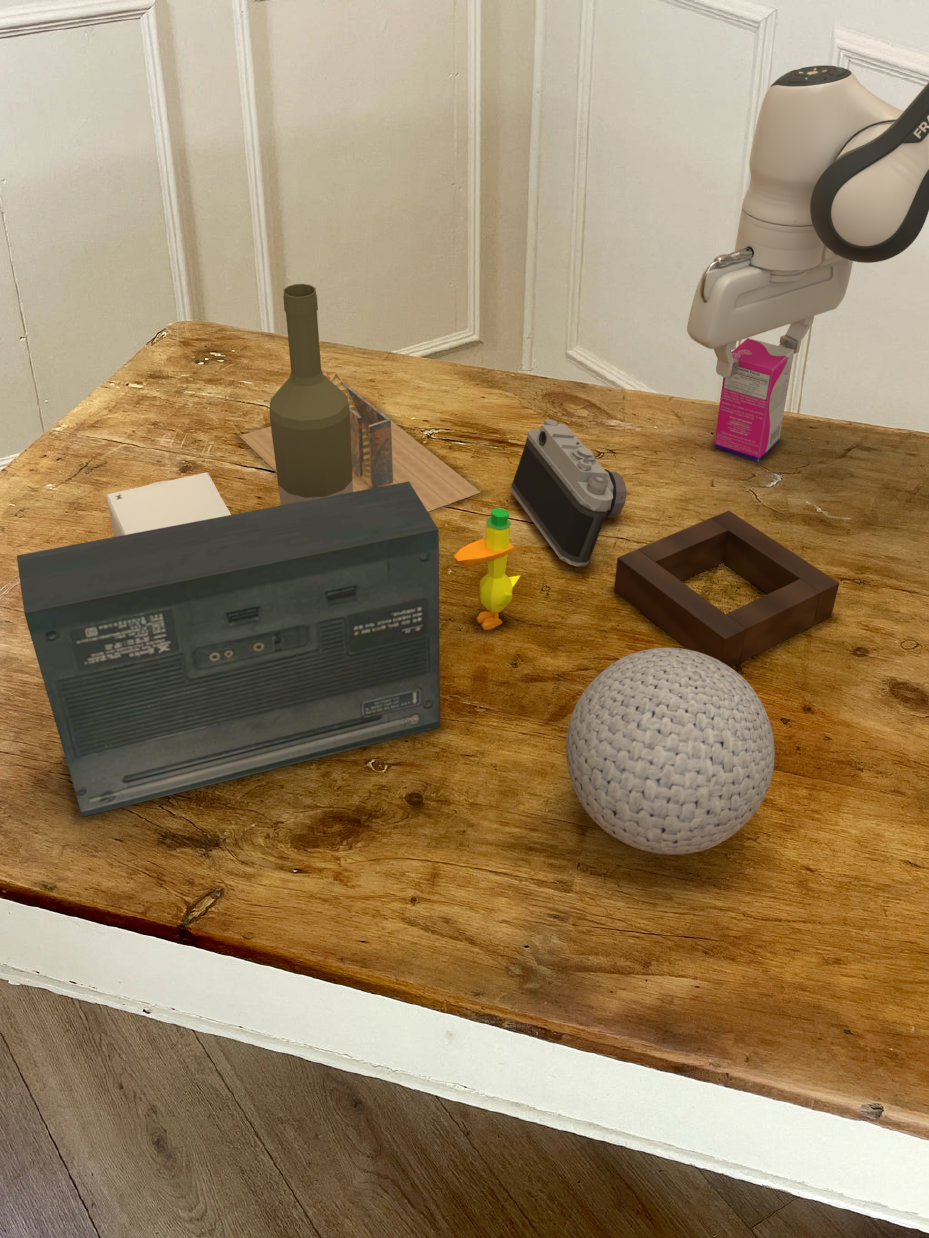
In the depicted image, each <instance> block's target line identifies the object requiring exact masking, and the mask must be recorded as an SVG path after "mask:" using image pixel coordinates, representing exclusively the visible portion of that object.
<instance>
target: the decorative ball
mask: <svg viewBox="0 0 929 1238" xmlns="http://www.w3.org/2000/svg"><path fill="white" fill-rule="evenodd" d="M775 749H776V748H775V737H774V733H773V729H772V724H771V722H770V718H769V716H768V714H767V711H766V709H765V707H764V705H763V703H762V701H761V698H760V697H759V696H758V693H756V691H755V689H754V688H753V687H752V685H751V684H750V683H749V682H748V681H747V680H746V679H745V678H744V677H743V676H742V675H741V674H739V672H737V671H736V670H735V669H733V668H732V667H729V666H727V665H726V664H724V663H722V662H721V661H719V660H717V659H715V658H713V657H711V656H708V655H705V654H703V653H699V652H696V651H692V650H688V649H687V648H681V647H680V648H678V647H655V648H649V649H645V650H640V651H636V652H633V653H631V654H628V655H626V656H623V657H621V658H619V659H617V660H616V661H615V662H613V663H612V664H610V665H609V666H607V667H606V668H605V669H604V670H602V671H601V672H600V673H598V675H597V676H596V677H595V678H594V679H593V680H592V681H591V682H590V683H589V684H588V685H587V687H586V688H585V689H584V691H583V692H582V694H581V695H580V697H579V699H578V701H577V702H576V704H575V706H574V708H573V711H572V714H571V716H570V719H569V722H568V726H567V732H566V738H565V757H566V765H567V766H566V767H567V770H568V775H569V779H570V783H571V785H572V788H573V790H574V793H575V794H576V797H577V798H578V801H579V803H580V804H581V806H582V808H583V809H584V810H585V812H586V813H587V815H588V816H589V817H590V818H591V819H592V820H593V822H595V823H596V824H597V825H598V826H599V827H600V828H601V829H602V830H603V831H605V832H606V833H607V834H609V835H610V836H611V837H613V838H615V839H616V840H618V841H620V842H622V843H624V844H625V845H628V846H629V847H632V848H634V849H638V850H640V851H644V852H647V853H651V854H657V855H669V856H670V855H671V856H672V855H673V856H675V855H677V856H678V855H688V854H693V853H694V854H695V853H699V852H702V851H703V852H704V851H706V850H708V849H712V848H714V847H716V846H718V845H720V844H722V843H723V842H725V841H726V840H728V839H729V838H731V837H732V836H733V835H735V834H736V833H737V832H739V831H740V830H741V829H742V828H744V826H745V825H746V824H747V823H748V822H749V821H750V820H751V819H752V818H753V816H754V815H755V814H756V813H757V811H758V810H759V809H760V807H761V805H762V803H763V801H764V800H765V797H766V795H767V793H768V791H769V788H770V784H771V783H772V779H773V775H774V768H775V760H776V758H775V757H776V756H775V755H776V750H775Z"/></svg>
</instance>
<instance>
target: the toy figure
mask: <svg viewBox="0 0 929 1238" xmlns="http://www.w3.org/2000/svg"><path fill="white" fill-rule="evenodd" d="M509 516H510V513H509V510H507V509H505V508H499V507H495V508H493V509H491V511H490V516H489V517H487V518H486V524H485V538H481V539H478V540H475V541H474V542H471V543H468V544H466V545H464V546H463V547H461V548H460V549H459V550H458V551H457V552H456V553H455V554H454V556H453V557H454V558H453V559H454V560H455V564H458V565H461V566H463V567H465V568H468V567H474V566H477V565H481V564H483V563H486V565H487V573H486V574H485V575H484V576H483V577H482V578H481V579H480V580H479V591H478V592H479V593H478V594H479V599H480V600H479V601H480V603H481V604H482V605H483V607H484V608H485V609H486V611H485V610H484V611H481V612H480V613H479V614H478V615H477V617H476V618H475V620H476V621H477V623H478V624H481V625H480V626H481V628H482V629H483V630H484V631H485V630H486V631H487V630H492V629H495V628H497V627H498V626H500V625H501V624H503V621H502V619H501V618H499V615H500V614H499V613H500V612H502V611H503V610H504V609H505V608H506V607H508V605H510V603H511V602H512V600H513V588H514V587H515V586H516V584H517V582H518V581H519V579H520V578H521V576H522V575H521V574H519V575H513V576H508V575H507V574H506V568H507V563H508V557H509V554H510V553H511V552H512V551H513V550H515V546H514V545H513V544H512V543H511V542H510V529H511V528H510V527H511V525H512V524H511V523H512V522H511V521H510V520H509Z"/></svg>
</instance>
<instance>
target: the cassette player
mask: <svg viewBox="0 0 929 1238" xmlns="http://www.w3.org/2000/svg"><path fill="white" fill-rule="evenodd" d="M16 561H17V568H18V577H19V585H20V591H21V599H22V606H23V613H24V614H23V615H24V617H25V620H26V621H25V622H26V624H27V628H28V631H29V632H28V633H29V635H30V638H31V642H32V646H33V649H34V653H35V656H36V660H37V663H38V666H39V670H40V674H41V677H42V680H43V681H42V682H43V684H44V687H45V691H46V695H47V698H48V702H49V706H50V709H51V712H52V715H53V719H54V722H55V726H56V730H57V732H58V737H59V740H60V744H61V748H62V750H63V754H64V758H65V762H66V764H67V768H68V772H69V775H70V779H71V783H72V786H73V790H74V792H75V797H76V800H77V804H78V806H79V807H78V808H79V810H80V814H81V817H82V818H85V817H89V816H92V815H96V814H100V813H104V812H108V811H112V810H116V809H120V808H124V807H129V806H132V805H136V804H140V803H144V802H148V801H152V800H155V799H156V800H157V799H160V798H164V797H168V796H173V795H177V794H180V793H184V792H189V791H193V790H197V789H200V788H203V787H208V786H212V785H216V784H221V783H223V782H228V781H232V780H236V779H241V778H244V777H247V776H251V775H256V774H259V773H263V772H268V771H272V770H276V769H279V768H284V767H288V766H293V765H296V764H300V763H303V762H304V763H305V762H308V761H312V760H316V759H319V758H324V757H327V756H332V755H335V754H340V753H343V752H347V751H352V750H356V749H360V748H364V747H368V746H371V745H376V744H379V743H383V742H384V743H385V742H388V741H391V740H395V739H400V738H404V737H408V736H412V735H416V734H419V733H423V732H428V731H432V730H435V729H440V728H441V694H440V693H441V679H440V678H441V677H440V675H441V674H440V673H441V670H440V669H441V667H440V666H441V663H440V662H441V661H440V655H441V654H440V650H441V649H440V646H441V645H440V529H439V528H438V526H437V525H436V523H435V521H434V519H433V518H432V516H431V515H430V513H429V512H428V511H427V510H426V508H425V507H424V505H423V503H422V502H421V500H420V498H419V497H418V495H417V494H416V492H415V490H414V489H413V487H412V485H411V484H410V482H409V481H408V482H403V483H398V484H392V485H387V486H382V487H377V488H371V489H366V490H361V491H355V492H350V493H345V494H339V495H334V496H329V497H324V498H318V499H313V500H308V501H302V502H297V503H292V504H287V505H281V504H280V505H277V506H271V507H266V508H261V509H255V510H249V511H245V512H240V513H233V514H231V515H228V516H223V517H218V518H212V519H207V520H202V521H196V522H191V523H186V524H181V525H175V526H170V527H165V528H159V529H154V530H149V531H144V532H138V533H133V534H128V535H122V536H117V537H114V536H112V537H108V538H102V539H97V540H90V541H85V542H79V543H75V544H70V545H64V546H60V547H53V548H49V549H44V550H38V551H34V552H27V553H23V554H17V555H16Z"/></svg>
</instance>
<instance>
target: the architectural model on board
mask: <svg viewBox="0 0 929 1238" xmlns="http://www.w3.org/2000/svg"><path fill="white" fill-rule="evenodd" d="M321 370H322V369H321ZM322 372H323V375H324V376H325V377H326V378H327V379H329V380H330V381H331V382H332V383H333V384H334V385H336V386H337V387H338V388H339V389H340V390H341V391H343V392H344V393H345V394H346V396H347V399H348V402H349V411H350V431H351V455H352V480H353V492H355V491H361V490H366V489H371V488H377V487H382V486H387V485H392V484H398V483H403V482H408V481H409V482H410V484H411V485H412V487H413V489H414V490H415V492H416V494H417V495H418V497H419V498H420V500H421V502H422V503H423V505H424V507H425V508H426V510H427V511H428V513H429V512H431V511H434V510H437V509H440V508H442V507H445V506H448V505H451V504H454V503H456V502H459V501H461V500H464V499H467V498H469V497H472V496H475V495H477V494H481V493H482V492H481V491H480V490H479V489H478V488H476V487H475V486H474V485H473V484H471V483H470V482H469V481H467V480H466V479H465V478H464V477H463V476H461V475H460V474H459V473H457V472H456V471H455V470H454V469H453V468H451V467H450V466H449V465H447V464H446V463H445V462H443V460H442V459H440V458H438V456H436V455H435V454H434V453H432V452H431V451H430V450H429V449H427V448H426V447H425V446H424V445H422V444H421V442H419V441H417V440H416V438H414V437H412V436H411V435H410V434H408V432H406V431H405V430H403V429H402V427H400V426H399V425H397V424H396V423H395V422H393V421H392V419H390V418H389V417H388V416H387V415H386V414H384V413H383V412H382V411H380V410H379V409H378V408H377V407H376V406H374V405H373V404H372V403H371V402H370V401H368V400H367V399H366V398H365V397H363V396H361V394H359V393H358V392H356V390H354V389H353V388H352V387H350V386H349V385H348V384H347V383H345V382H344V381H343V380H342V378H341V377H340V376H339V374H338V373H337V372H336V371H327V370H322ZM239 438H240V439H241V440H242V441H243V442H244V443H246V444H247V446H249V447H250V448H251V449H252V451H254V453H256V454H257V456H259V457H260V458H261V459H262V460H263V461H264V462H265V463H266V464H267V465H268V466H269V467H270V468H271V469H272V470H274V472H275V473H277V471H276V463H275V455H274V447H273V439H272V432H271V425H270V426H267V427H264V428H261V429H257V430H254V431H251V432H248V433H247V432H246V433H243V434H241V435H239Z"/></svg>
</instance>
